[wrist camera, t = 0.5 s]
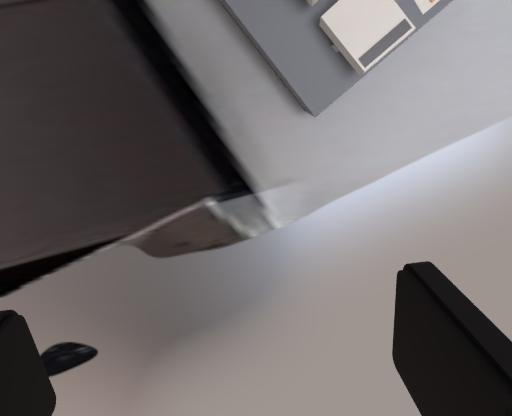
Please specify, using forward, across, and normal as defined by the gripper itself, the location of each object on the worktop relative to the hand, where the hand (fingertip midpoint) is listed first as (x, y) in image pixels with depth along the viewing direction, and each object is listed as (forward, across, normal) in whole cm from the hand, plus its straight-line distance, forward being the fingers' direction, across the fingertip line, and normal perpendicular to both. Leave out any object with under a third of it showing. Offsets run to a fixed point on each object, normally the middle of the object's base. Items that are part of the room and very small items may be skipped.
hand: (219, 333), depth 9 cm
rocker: (+22, -11, -8) cm, 26 cm away
